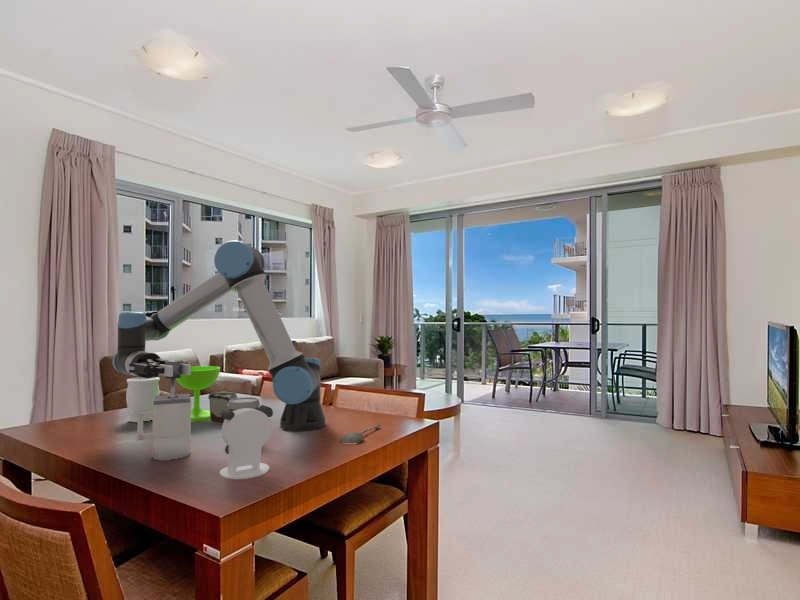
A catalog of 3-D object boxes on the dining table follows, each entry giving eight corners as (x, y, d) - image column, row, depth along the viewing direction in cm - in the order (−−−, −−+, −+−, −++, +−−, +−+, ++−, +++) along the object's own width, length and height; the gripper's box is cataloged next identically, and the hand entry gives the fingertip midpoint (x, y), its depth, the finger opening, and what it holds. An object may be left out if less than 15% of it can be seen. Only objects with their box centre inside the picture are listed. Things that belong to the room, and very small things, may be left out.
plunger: (180, 423, 128) (181, 360, 129) (180, 426, 124) (181, 361, 125) (164, 424, 126) (165, 360, 127) (163, 427, 123) (164, 362, 123)
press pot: (189, 448, 131) (190, 393, 132) (190, 457, 123) (191, 398, 123) (138, 454, 126) (139, 396, 126) (135, 464, 117) (136, 402, 118)
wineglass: (164, 417, 171) (165, 368, 172) (206, 411, 183) (207, 365, 184) (185, 424, 161) (186, 372, 161) (227, 416, 173) (228, 368, 174)
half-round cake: (245, 422, 164) (245, 393, 164) (230, 425, 159) (230, 396, 159) (222, 418, 170) (223, 390, 171) (207, 421, 165) (208, 393, 166)
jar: (165, 417, 172) (165, 376, 172) (147, 423, 161) (148, 380, 162) (138, 416, 173) (139, 376, 173) (118, 423, 162) (119, 380, 163)
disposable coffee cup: (266, 437, 144) (266, 398, 144) (246, 445, 135) (246, 403, 135) (240, 434, 147) (240, 396, 147) (219, 442, 138) (220, 401, 138)
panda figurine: (259, 460, 121) (260, 402, 121) (280, 471, 112) (280, 408, 113) (212, 470, 113) (213, 408, 113) (230, 482, 104) (231, 415, 105)
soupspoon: (335, 447, 137) (355, 450, 134) (336, 435, 137) (355, 439, 134) (370, 427, 157) (388, 430, 154) (371, 418, 157) (388, 420, 154)
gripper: (173, 374, 144) (211, 381, 129) (111, 380, 131) (146, 388, 116) (173, 350, 145) (211, 354, 130) (112, 353, 132) (146, 358, 117)
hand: (180, 370), depth 123 cm, fingers closed on plunger, 4 cm apart
